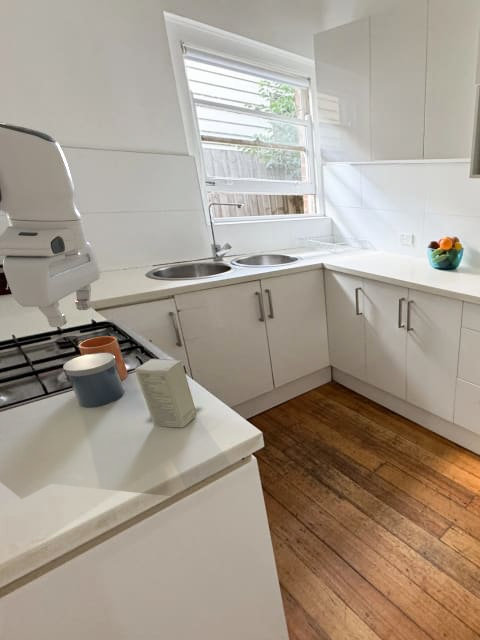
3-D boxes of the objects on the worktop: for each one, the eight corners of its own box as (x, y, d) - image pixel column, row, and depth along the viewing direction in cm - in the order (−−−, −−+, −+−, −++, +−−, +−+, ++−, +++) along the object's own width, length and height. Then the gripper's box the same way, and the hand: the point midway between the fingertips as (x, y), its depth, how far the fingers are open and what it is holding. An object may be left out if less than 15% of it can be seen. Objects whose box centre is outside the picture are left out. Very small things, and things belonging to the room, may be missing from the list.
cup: (85, 380, 85) (72, 344, 81) (117, 368, 90) (106, 334, 87) (101, 388, 82) (88, 350, 79) (134, 375, 88) (123, 339, 84)
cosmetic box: (197, 415, 74) (184, 359, 69) (182, 429, 70) (167, 371, 65) (167, 412, 75) (152, 357, 70) (150, 426, 71) (133, 368, 66)
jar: (69, 401, 77) (54, 364, 74) (112, 384, 84) (101, 349, 81) (90, 412, 74) (76, 374, 71) (133, 393, 81) (122, 358, 77)
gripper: (59, 229, 71) (78, 301, 76) (-17, 245, 53) (14, 338, 58) (100, 230, 73) (116, 300, 78) (40, 246, 55) (66, 336, 60)
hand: (72, 316), depth 68 cm, fingers open, 8 cm apart
